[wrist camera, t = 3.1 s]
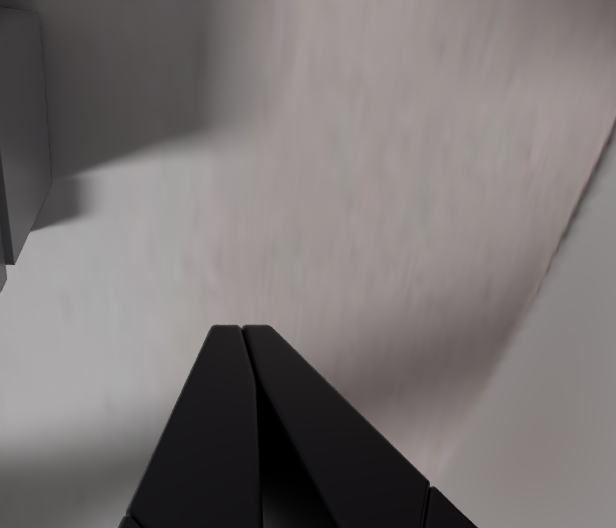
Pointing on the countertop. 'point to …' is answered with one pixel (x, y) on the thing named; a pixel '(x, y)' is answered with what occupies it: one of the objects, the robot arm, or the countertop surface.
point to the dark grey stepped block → (21, 132)
